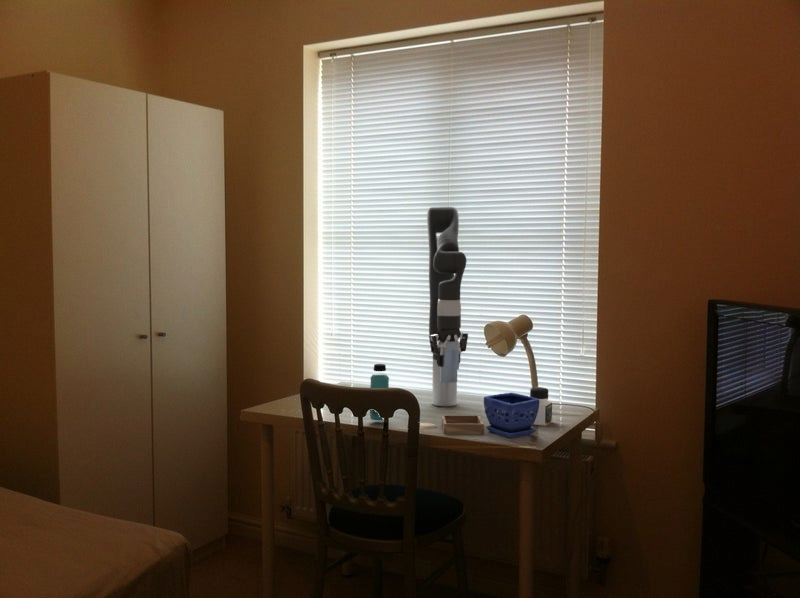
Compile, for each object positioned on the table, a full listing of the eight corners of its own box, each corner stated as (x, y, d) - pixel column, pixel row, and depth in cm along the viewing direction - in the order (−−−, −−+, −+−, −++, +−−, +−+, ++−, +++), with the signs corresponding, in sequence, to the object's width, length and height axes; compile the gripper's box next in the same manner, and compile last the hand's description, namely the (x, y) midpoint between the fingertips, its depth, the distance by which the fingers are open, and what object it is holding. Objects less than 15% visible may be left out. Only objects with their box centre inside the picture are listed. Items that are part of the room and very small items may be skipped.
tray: (441, 425, 241) (441, 415, 241) (479, 425, 242) (479, 415, 241) (444, 435, 229) (444, 424, 229) (483, 435, 229) (484, 424, 229)
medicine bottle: (545, 426, 242) (546, 390, 241) (525, 423, 245) (525, 388, 244) (552, 421, 248) (552, 387, 247) (532, 419, 251) (532, 385, 250)
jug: (450, 378, 239) (451, 339, 238) (464, 382, 232) (464, 342, 231) (436, 380, 236) (436, 340, 235) (449, 384, 230) (450, 343, 228)
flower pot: (541, 435, 229) (541, 398, 228) (510, 442, 221) (511, 403, 221) (511, 427, 240) (512, 391, 239) (481, 433, 232) (481, 396, 231)
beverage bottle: (378, 419, 250) (378, 361, 248) (393, 422, 245) (393, 364, 244) (365, 423, 245) (365, 364, 243) (380, 426, 240) (380, 366, 239)
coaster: (406, 424, 243) (406, 422, 243) (436, 424, 243) (436, 422, 243) (406, 431, 233) (406, 430, 233) (437, 431, 233) (437, 430, 233)
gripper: (460, 311, 240) (460, 362, 241) (423, 313, 233) (423, 365, 234) (474, 313, 234) (473, 365, 235) (436, 315, 226) (436, 369, 228)
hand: (448, 365), depth 235 cm, fingers closed on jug, 5 cm apart
